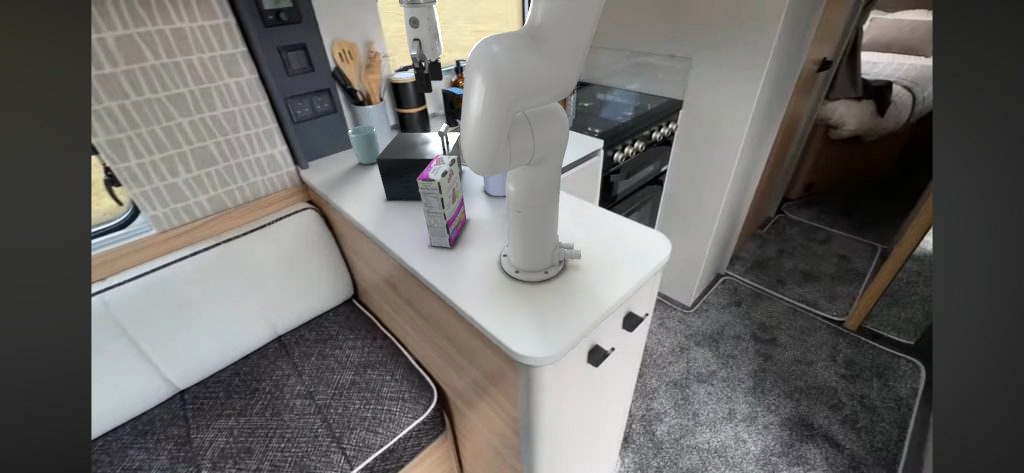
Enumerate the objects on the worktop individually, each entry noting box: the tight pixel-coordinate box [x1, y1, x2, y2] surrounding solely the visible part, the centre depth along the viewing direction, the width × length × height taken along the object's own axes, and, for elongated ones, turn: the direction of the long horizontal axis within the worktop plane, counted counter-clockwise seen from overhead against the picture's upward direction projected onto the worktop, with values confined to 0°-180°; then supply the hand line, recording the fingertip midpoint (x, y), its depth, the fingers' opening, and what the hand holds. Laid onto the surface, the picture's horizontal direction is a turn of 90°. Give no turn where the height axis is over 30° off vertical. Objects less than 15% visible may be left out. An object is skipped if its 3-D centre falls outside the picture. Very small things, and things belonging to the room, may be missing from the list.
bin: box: [376, 140, 463, 202], centre depth 99 cm, size 17×17×11 cm
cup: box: [347, 125, 381, 165], centre depth 113 cm, size 8×8×10 cm
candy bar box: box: [416, 155, 468, 249], centre depth 79 cm, size 11×5×16 cm, turn 168°
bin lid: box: [376, 123, 460, 162], centre depth 94 cm, size 17×17×5 cm
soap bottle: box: [483, 172, 508, 197], centre depth 92 cm, size 9×9×24 cm
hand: (430, 86), depth 85 cm, fingers open, 9 cm apart
